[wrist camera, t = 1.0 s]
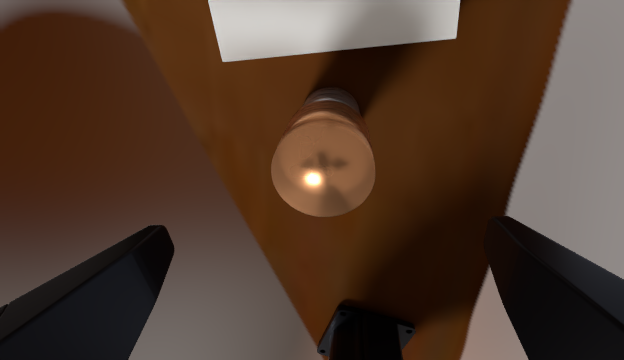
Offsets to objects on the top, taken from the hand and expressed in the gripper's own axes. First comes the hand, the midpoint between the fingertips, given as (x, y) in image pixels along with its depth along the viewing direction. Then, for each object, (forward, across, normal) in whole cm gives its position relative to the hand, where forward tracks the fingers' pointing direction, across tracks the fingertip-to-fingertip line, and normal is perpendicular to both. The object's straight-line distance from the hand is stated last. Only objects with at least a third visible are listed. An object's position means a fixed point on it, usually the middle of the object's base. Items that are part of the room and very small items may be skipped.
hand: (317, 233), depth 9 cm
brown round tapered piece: (+10, 0, 0) cm, 10 cm away
